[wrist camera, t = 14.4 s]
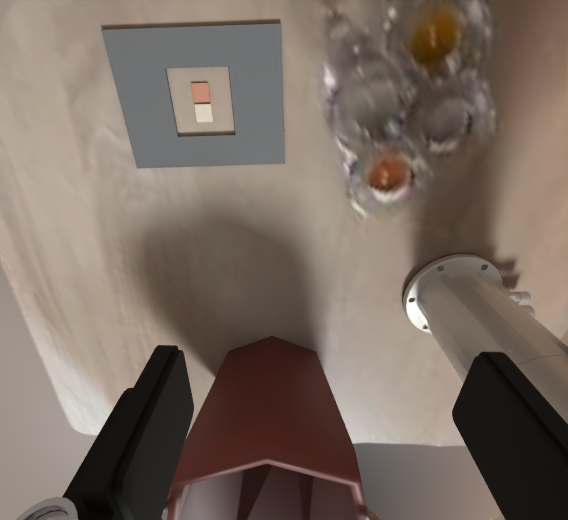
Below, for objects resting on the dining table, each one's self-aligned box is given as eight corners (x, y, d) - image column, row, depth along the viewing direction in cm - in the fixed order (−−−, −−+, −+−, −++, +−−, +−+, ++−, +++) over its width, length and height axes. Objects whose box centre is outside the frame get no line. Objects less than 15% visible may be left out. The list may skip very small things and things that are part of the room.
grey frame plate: (280, 24, 26) (280, 23, 26) (284, 162, 32) (284, 163, 32) (103, 30, 27) (101, 29, 26) (138, 167, 32) (137, 168, 32)
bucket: (373, 358, 46) (455, 591, 24) (305, 434, 56) (321, 652, 34) (226, 302, 41) (164, 536, 19) (179, 397, 50) (100, 627, 28)
